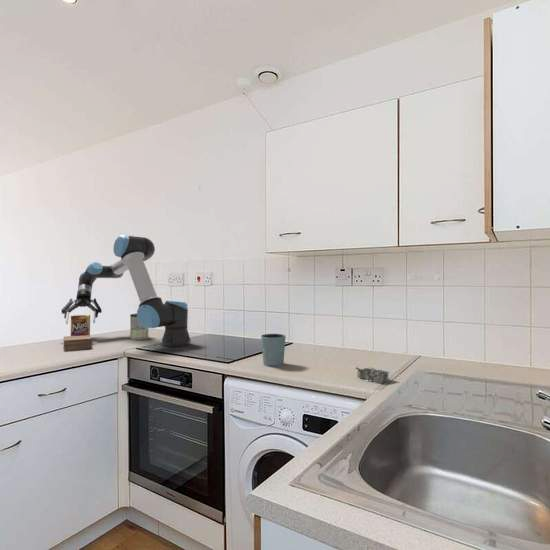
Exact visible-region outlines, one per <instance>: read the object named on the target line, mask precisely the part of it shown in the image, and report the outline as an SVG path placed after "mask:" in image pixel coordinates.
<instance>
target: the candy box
mask: <svg viewBox="0 0 550 550" xmlns="http://www.w3.org/2000/svg"><path fill="white" fill-rule="evenodd" d="M80 335H90V336H91V314H72V315H70V336H80Z"/></svg>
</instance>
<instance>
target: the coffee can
mask: <svg viewBox="0 0 550 550" xmlns="http://www.w3.org/2000/svg"><path fill="white" fill-rule="evenodd" d="M129 316H130V334H129V335H130V337H129V339H130V340H145V339H146V340H147V339H149V328H145V327H143V326H142V325H141V324H140V323H139V321H138V319H137V313H132V314H130V315H129Z"/></svg>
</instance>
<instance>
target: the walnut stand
mask: <svg viewBox="0 0 550 550" xmlns="http://www.w3.org/2000/svg"><path fill="white" fill-rule="evenodd" d="M90 349H91V350H92V349H93V338H92V337H91V334H90V335H80V336H71V335H69V336H66V335H65V336H63V351H79V350H90Z"/></svg>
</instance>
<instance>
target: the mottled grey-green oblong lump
mask: <svg viewBox="0 0 550 550" xmlns="http://www.w3.org/2000/svg"><path fill="white" fill-rule="evenodd" d="M355 369H356V370H357V372H356V377H357V378H360V379H359V380H365V381H366V380H368V381H367V382H370V381H369V380H372V381H371V382H373V381H374V382H375V384H383V383H384V382H386V381H387V382H389V374H390V372H391V370H390V371H387V370H382V369H376V368H374V367H370V366H369V367H366V368H359V367H357V366H355ZM361 378H363V379H361ZM374 382H373V383H374ZM382 382H383V383H382Z"/></svg>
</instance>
